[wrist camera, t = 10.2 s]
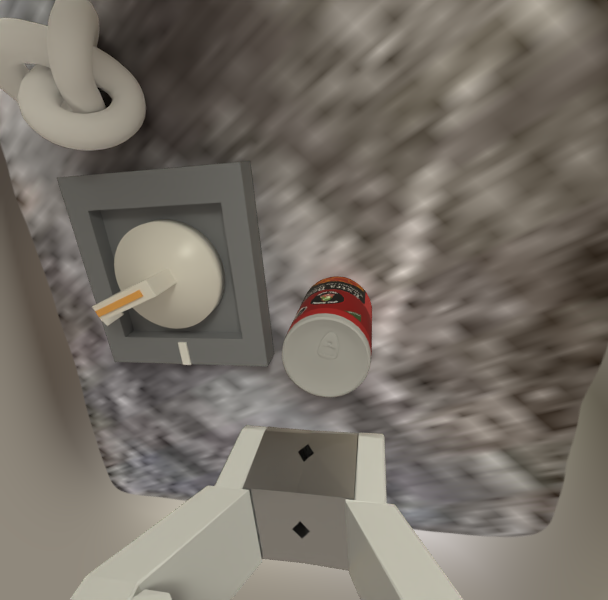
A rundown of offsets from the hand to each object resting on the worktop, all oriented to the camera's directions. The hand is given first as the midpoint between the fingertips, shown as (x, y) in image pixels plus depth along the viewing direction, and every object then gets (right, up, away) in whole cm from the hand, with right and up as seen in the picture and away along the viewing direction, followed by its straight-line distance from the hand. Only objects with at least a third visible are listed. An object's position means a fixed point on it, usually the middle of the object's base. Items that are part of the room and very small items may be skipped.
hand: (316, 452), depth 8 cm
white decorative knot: (-21, +25, +28) cm, 43 cm away
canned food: (+4, +3, +33) cm, 33 cm away
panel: (-15, +7, +34) cm, 38 cm away
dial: (-15, +6, +33) cm, 37 cm away
